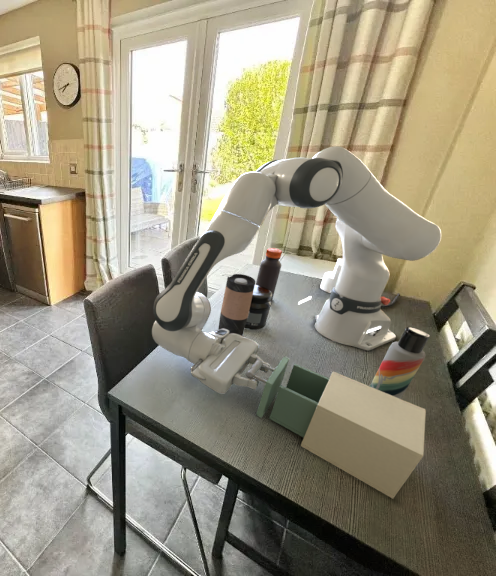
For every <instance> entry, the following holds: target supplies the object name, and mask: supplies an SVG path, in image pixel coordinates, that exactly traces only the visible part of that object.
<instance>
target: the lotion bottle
mask: <svg viewBox="0 0 496 576" xmlns="http://www.w3.org/2000/svg"><path fill="white" fill-rule="evenodd" d="M429 339H430V334H428V333H427V332H425V331H423V330H421V329H420V328H417V327H414V326H407V327H405V329H404V331H403V332H402V334H401V336H400V338H399V340H398V341H394V342H393V341H392V343H391V344H390V345H389V347H388V349H387V351H386V353H385V355H384V358H383V359H382V361H381V362H380V365H379V367H378V369H377V371H376V373H375V375H374V377H373V379H372V381H371V383H370V385H369V386H370V387H372V388H375V389H377V390H379V391H382V392H384V393H387V394H389V395H392V396H394V397H396V398H399V399H401V400H402V398H403V397H404V394H405V393H406V391H407V389H408V388H409V386H410V384H411V383H412V381H413V379H414V377H415V376H416V374H417V372H418V370H419V369H420V367H421V365H422V363H423V362H424V360H425V358H426V352H425V351H424V350H423V349H424V348H425V346H426V344H427V343H428V341H429Z"/></svg>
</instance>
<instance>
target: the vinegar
mask: <svg viewBox="0 0 496 576" xmlns="http://www.w3.org/2000/svg"><path fill="white" fill-rule="evenodd" d="M282 253H283V250H281V249H279V248H276V247H269V248H267V249H266V251H265V258H264V259H263V260H261V261H260V264H259V269H258V273H257V276H256V277H257V278H256V280H255V285H258V286H262V287H265V288H267V289H268V290H270V291H271V292H272V297H271V300H270V301H271V303H272V302H273V299H274V295H275V291H276V287H277V284H278V280H279V276H280V272H281V269H282V263H281V262H280V259H281V257H282Z"/></svg>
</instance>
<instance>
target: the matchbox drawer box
mask: <svg viewBox="0 0 496 576" xmlns="http://www.w3.org/2000/svg"><path fill="white" fill-rule="evenodd" d="M329 378H330V379H329V381H328V383H327V385H326V388H325V390H324V392H323V394H322V396H321V399H320V401H319V403H318V405H317V408H316V410H315V412H314V415H313V417H312V419H311V422H310V424H309V427H308V429H307V431H306V434H305V436H304V438H303V439H302V441H301V443H300V447H302V448H304V449H305V450H307V451H308V452H310V453H312V454H314V455H316V456H317V457H319V458H321V459H322V460H325V461H326V462H328V463H329V464H331V465H333V466H335V467H336V468H338V469H340V470H342V471H344V472H345V473H347V474H348V475H350V476H352V477H353V478H356V479H357V480H359V481H361V482H363V484H366V485H368V486H370V487H371V488H373V489H374V490H377V491H378V492H380V493H381V494H383V495H385V496H387V497H389V498H391V499H393V500H394V499H395V497H396V495H397V494H398V493H399V491H400V490H401V488H402V487H403V486H404V485H405V483H406V482H407V481H408V478H410V476H411V475H412V473H413V472H414V470H415V469H416V467H417V466H418V465H419V463H420V462H421V460H422V459H423V458H424V454H425V453H424V451H425V434H426V433H425V432H426V414H427V413H426V411H427V409H426V408H423V407H422V406H421V407H420V406H418V405H416V404H414V403H411V402H409V401H407V400H405V399H404V400H403V399H402V398H401V399H399V398H396V397H394V396H392V395H389V394H387V393H384V392H382V391H379V390H377V389H375V388H372V387H370V385H368V384H365V383H362V382H360V381H358V380H355V379H353V378H350V377H348V376H345V375H343V374H340V373H338V372H335V371H332V373H331V374H330V376H329Z"/></svg>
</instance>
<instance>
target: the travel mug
mask: <svg viewBox="0 0 496 576" xmlns="http://www.w3.org/2000/svg"><path fill="white" fill-rule="evenodd" d="M225 283H226V284H225V289H224V294H223V297H222V298H223V299H222V304H221V308H220V314H219V322H218V328H217V330H220V329H223V328H224V329H227V330H229V331H230V332H229V334H231V333H234V334H238V335H241V336H244V332H245V329H246V328H245V325H246V321H247V318H248V313H249V309H250V304H251V300H252V295H253V291H254V286H255V285H256V280H255V278H254V277H251V276H250V275H247V274H242V273H233V274H232V275H231V276H227V279H226V282H225Z"/></svg>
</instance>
